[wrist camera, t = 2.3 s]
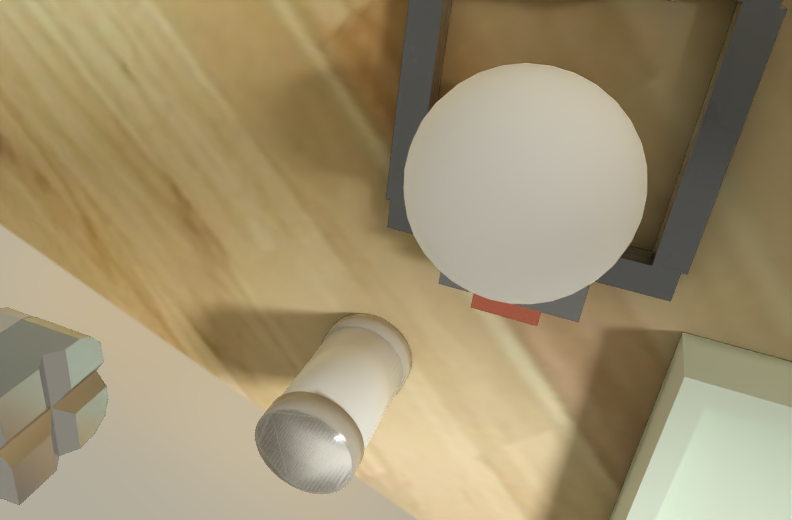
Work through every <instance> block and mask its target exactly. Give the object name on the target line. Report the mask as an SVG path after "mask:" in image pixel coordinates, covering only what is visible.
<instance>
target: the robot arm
mask: <svg viewBox="0 0 792 520" xmlns="http://www.w3.org/2000/svg"><path fill="white" fill-rule="evenodd" d="M103 362H104V360H103V354H102V349H101V343H100V342H99V341H97V340H96V339H94V338H92V337H91V336H88V335H85V334H82V333H79V332H77V331H74V330H71V329H68V328H66V327H63V326H60V325H57V324H54V323H51V322H49V321H46V320H43V319H40V318H38V317H33V316H30V315H27V314H24V313H22V312H19V311H16V310H13V309H10V308H0V498H1V499H4V500H7V501H9V502H12V503H15V504H18V505H20V504H21V503H23V502H24V501H25V500H26V499H27V497H29V496H30V495H31V494H32V493H33V492H34V491H35V490H36V489H38V488H39V487H40V486H41V485H42V484H43V483H44V482H45V481H46V480H47V479H48V478H49V477H50V476H51V475H52V474H54V472H56V470H57V465H58V460H59V456H60V455H63V454H66V453H69V452H72V451H74V450H77V449H80V448H81V447H82V446H83V445H84V444H85V443H86V442H87V441H88V440H89V439H90V438H91V437H92V436H93V435H94V434H95V433H96V431H97V429H98V427H99V425H100V424H101V422H102V420H103V418H104V416H105V413H106V408H107V403H108V394H107V386H106V384H105V383H104V381H103V380H102V379H101V377H100V375H99V374H98V373H97V371H96V370H97V369H98V368H99V367H100V365H101V364H102V363H103Z"/></svg>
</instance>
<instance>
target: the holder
mask: <svg viewBox="0 0 792 520" xmlns="http://www.w3.org/2000/svg"><path fill="white" fill-rule="evenodd" d="M667 1H673V2H674V0H667ZM734 1H738V3H737V6H736V9H735V12H734V15H733V18H732V21H731V24H730V27H729V30H728V33H727V36H726V39H725V42H724V44H723V47H722V50H721V53H720V56H719V59H718V62H717V65H716V68H715V71H714V74H713V77H712V80H711V83H710V85H709V88H708V91H707V94H706V97H705V100H704V103H703V106H702V109H701V112H700V115H699V118H698V121H697V124H696V126H695V129H694V132H693V135H692V138H691V141H690V144H689V147H688V150H687V153H686V156H685V159H684V162H683V165H682V167H681V170H680V173H679V176H678V179H677V182H676V185H675V188H674V191H673V194H672V197H671V200H670V203H669V206H668V208H667V211H666V214H665V217H664V220H663V223H662V226H661V229H660V232H659V235H658V238H657V241H656V244H655V247H654V249H653V252H652V251H648V250H644V249H640V248H636V247H632V246H628V247H627V249H626V250H625V251H624V253H623V254H622V255H621V257H620V258H619V259H618V260H617V262H616V263H615V264H614V266H613V267H611V268H610V269H609V270H608V271H607V272H606V273H604V274H603V275H602V276H601V277H600V278H599V279H598V280H596V281H594V282H598V283H602V284H606V285H610V286H614V287H617V288H621V289H625V290H629V291H633V292H636V293H640V294H644V295H648V296H652V297H656V298H659V299H663V300H667V301H671V299H672V297H673V294H674V291H675V289H676V286H677V283H678V281H679V278H680V275H681V273H682V274H686V275H687V274H688V271H689V268H690V266H691V263H692V260H693V258H694V255H695V252H696V250H697V247H698V244H699V242H700V239H701V236H702V234H703V231H704V228H705V226H706V223H707V220H708V218H709V215H710V213H711V210H712V207H713V205H714V202H715V199H716V197H717V194H718V191H719V189H720V186H721V183H722V181H723V178H724V175H725V173H726V170H727V167H728V165H729V162H730V159H731V157H732V154H733V152H734V149H735V146H736V144H737V141H738V138H739V136H740V133H741V130H742V128H743V125H744V122H745V120H746V117H747V114H748V112H749V109H750V106H751V104H752V101H753V98H754V96H755V93H756V91H757V88H758V85H759V83H760V80H761V77H762V75H763V72H764V69H765V67H766V64H767V61H768V59H769V56H770V53H771V51H772V48H773V45H774V43H775V40H776V37H777V35H778V32H779V29H780V27H781V24H782V22H783V19H784V16H785V14H786V11H787V8H786V7H784V6H783V5H782V4H781V3H782V1H783V0H734ZM451 6H452V0H409V5H408V13H407V22H406V30H405V39H404V47H403V56H402V65H401V73H400V82H399V90H398V99H397V107H396V116H395V125H394V133H393V142H392V150H391V159H390V167H389V176H388V185H387V193H386V199H388V200H391V201H390V209H389V218H388V226H387V227H388V228H392V229H396V230H400V231H404V232H407V233H411V234H413V232H412V229H411V226H410V224H409V221H408V218H407V213H406V206H405V200H404V169H405V165H406V161H407V157H408V153H409V149H410V146H411V143H412V140H413V138H414V136H415V134H416V132H417V130H418V128H419V126H420V124H421V122H422V120H423V119H424V118H425V116H426V115H427V114H428V112H429V111H430V110H431V108H432V107H433V106H434V104H435V103H436V102H437V101H438V95H439V88H440V81H441V74H442V67H443V60H444V54H445V47H446V40H447V33H448V26H449V19H450V12H451ZM439 284H442V285H446V286H449V287H453V288H456V289H460V290H464V291H467V292H469V291H468V290H466V289H464V288H463V287H461V286H459V285H457V284H456V283H454V282H452V281H451V280H450V279H449V278H448V277H446V276H445V275H444V274H443V273H442V272H440V278H439ZM588 289H589V285H588V286H586V287H584V288H583V289H581V290H579V291H577V292H576V293H574V294H572V295H569V296H566V297H563V298H560V299H557V300H554V301H551V302H544V303H537V304H509V303H504V302H499V301H494V300H490V299H487V298H484V297H482V296H479V295H477V294H473V299H472V304H471V308H475V309H478V310H482V311H485V312H489V313H492V314H496V315H500V316H503V317H507V318H510V319H514V320H517V321H521V322H524V323H528V324H531V325H535V326H537V325H538V322H539V318H540V315H541V312H543V313H547V314H550V315H554V316H557V317H561V318H565V319H568V320H572V321H575V322H579V319H580V316H581V313H582V309H583V306H584V302H585V299H586V296H587V292H588Z"/></svg>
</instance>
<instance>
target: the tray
mask: <svg viewBox="0 0 792 520" xmlns="http://www.w3.org/2000/svg"><path fill="white" fill-rule="evenodd" d="M609 520H792V362H791V361H787V360H783V359H779V358H776V357H772V356H768V355H765V354H761V353H757V352H754V351H750V350H746V349H743V348H739V347H735V346H732V345H728V344H724V343H720V342H717V341H713V340H709V339H706V338H702V337H698V336H695V335H691V334H687V333H684V332H683V333H682V335H681V338H680V340H679V343H678V346H677V348H676V351H675V353H674V356H673V358H672V361H671V363H670V366H669V368H668V371H667V374H666V376H665V379H664V381H663V384H662V386H661V389H660V391H659V394H658V397H657V399H656V402H655V404H654V407H653V409H652V412H651V414H650V417H649V419H648V422H647V425H646V427H645V430H644V432H643V435H642V437H641V440H640V442H639V445H638V447H637V450H636V453H635V455H634V458H633V460H632V463H631V465H630V468H629V470H628V473H627V476H626V478H625V481H624V483H623V486H622V488H621V491H620V493H619V496H618V498H617V501H616V504H615V506H614V509H613V511H612V514H611V516H610V519H609Z"/></svg>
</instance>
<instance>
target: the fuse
mask: <svg viewBox="0 0 792 520" xmlns="http://www.w3.org/2000/svg"><path fill="white" fill-rule="evenodd" d="M411 367H412V354H411V350H410V347H409V345H408V343H407V341H406V339H405V338H404V336H403V335H402V334H401V333H400V331H399V330H398V329H397V328H395V327H394V326H393V325H392V324H390V323H389V322H387V321H386V320H384V319H382V318H380V317H377V316H374V315H370V314H363V313H358V314H351V315H348V316H345V317H343V318H342V319H340V320H339V321H338V322H336V323H335V325H334V326H333V327H332V329H331V330H330V331H329V332H328V334H327V335H326V336H325V337H324V339H323V341H322V344H321V346H320V347H319V349H318V350H317V351H316V352H315V354H314V355H313V356H312V358H311V359H310V360H309V361H308V363H307V364H306V365H305V367H304V368H303V369H302V370H301V372H300V373H299V374H298V375H297V377H296V378H295V379H294V381H293V382H292V383H291V384H290V386H289V387H288V388H287V390H286V391H285V392H284V393H283V395H281V396H280V397H278V398H277V399H276V400H275V401H274V402H273V403H272V405H271V406H270V407H269V408H268V410H267V411H266V412H265V413H264V415H263V416H262V417H261V419H260V420H259V422H258V424H257V426H256V430H255V440H256V445H257V448H258V451H259V453H260V455H261V457H262V459H263V460H264V462H265V463H266V465H267V466H268V467H269V468H270V469H271V470H272V471H273V473H275V474H276V475H277V476H278V477H279V478H280V479H282V480H283V481H285V482H286V483H288V484H289V485H291V486H293V487H295V488H297V489H300V490H302V491H305V492H309V493H314V494H330V493H334V492H337V491H340V490H341V489H343V488H344V487H346V486H347V485H348V483H349V482H350V481H351V479H352V477H353V475H354V474H355V472H356V470H357V468H358V466H359V464H360V463H361V461H362V458H363V454H364V450H365V448H366V446H367V445H368V443H369V441H370V439H371V437H372V436H373V434H374V432H375V430H376V428H377V427H378V425H379V423H380V421H381V419H382V417H383V416H384V414H385V412H386V410H387V408H388V407H389V405H390V403H391V401H392V399H393V398H394V396H395V395H396V394H397V393H398V392H399V391H400V389H401V387H402V386H403V384H404V382H405V380H406V378H407V377H408V375H409V373H410V370H411Z"/></svg>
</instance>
